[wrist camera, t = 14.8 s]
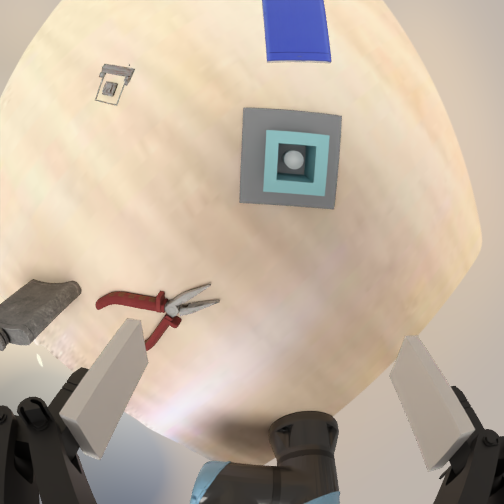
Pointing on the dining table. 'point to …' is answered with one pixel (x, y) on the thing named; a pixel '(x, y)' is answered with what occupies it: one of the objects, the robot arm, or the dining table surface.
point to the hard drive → (296, 31)
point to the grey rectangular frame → (110, 86)
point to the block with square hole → (314, 163)
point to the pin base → (258, 154)
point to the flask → (33, 310)
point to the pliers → (158, 308)
